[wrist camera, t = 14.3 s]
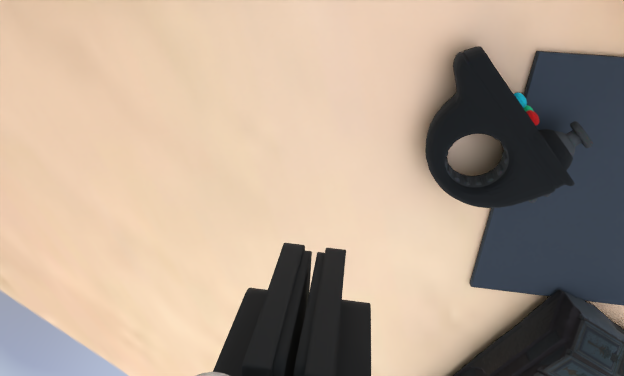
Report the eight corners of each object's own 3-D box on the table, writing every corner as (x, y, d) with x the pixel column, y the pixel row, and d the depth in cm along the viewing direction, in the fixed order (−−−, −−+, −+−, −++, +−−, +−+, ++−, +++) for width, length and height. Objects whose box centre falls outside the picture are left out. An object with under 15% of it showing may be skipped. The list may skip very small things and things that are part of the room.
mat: (536, 50, 28) (539, 51, 28) (749, 65, 27) (757, 66, 26) (469, 282, 37) (470, 286, 37) (626, 301, 36) (630, 306, 36)
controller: (475, 241, 31) (616, 175, 26) (379, 115, 28) (513, 18, 24) (471, 215, 34) (594, 153, 29) (386, 102, 32) (504, 15, 27)
